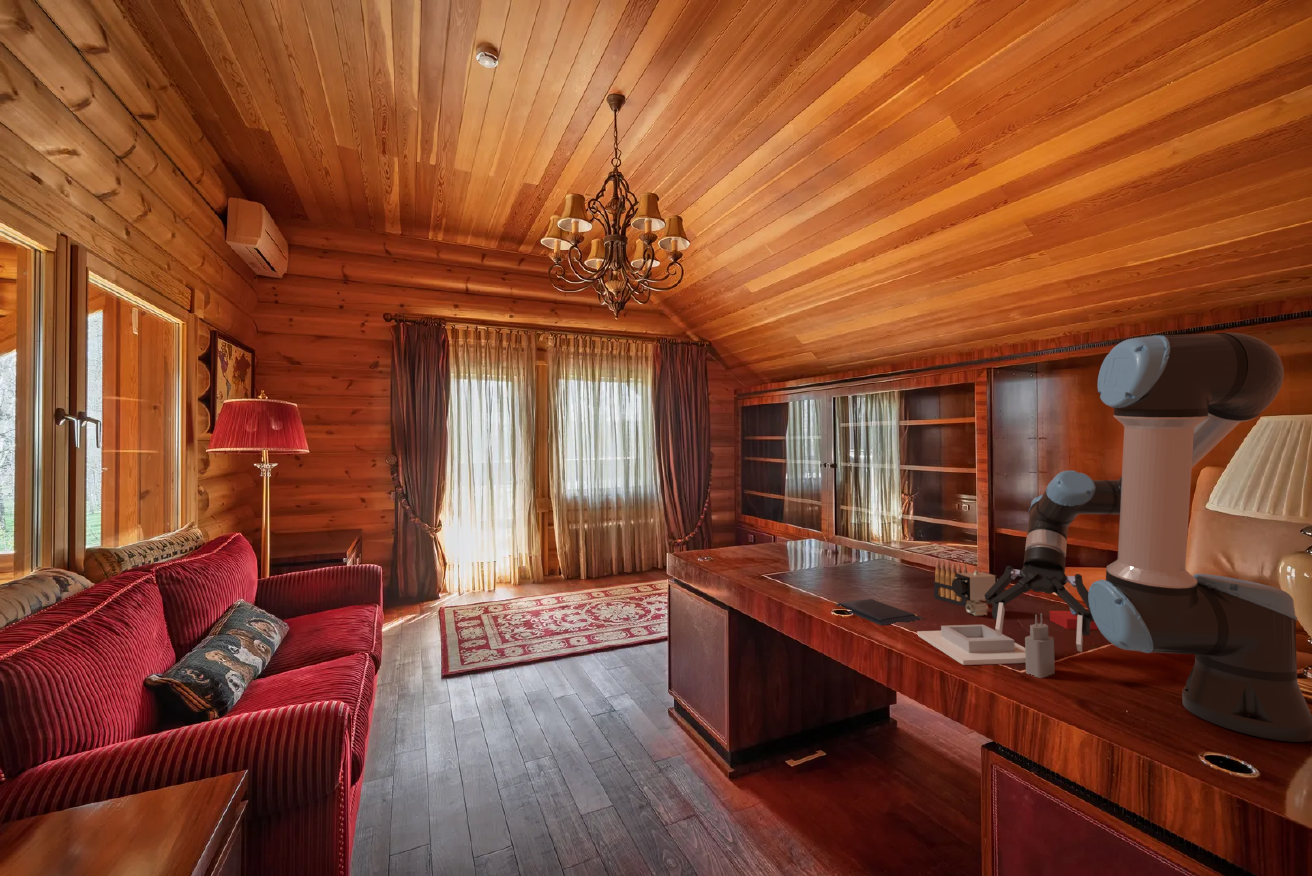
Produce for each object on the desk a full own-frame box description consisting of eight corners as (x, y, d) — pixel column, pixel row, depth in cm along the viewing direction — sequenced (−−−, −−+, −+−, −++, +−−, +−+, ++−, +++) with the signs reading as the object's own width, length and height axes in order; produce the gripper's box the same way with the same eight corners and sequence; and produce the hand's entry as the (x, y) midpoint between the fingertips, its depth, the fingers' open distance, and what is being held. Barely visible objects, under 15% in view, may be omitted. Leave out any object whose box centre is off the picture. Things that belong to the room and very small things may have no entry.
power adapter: (1056, 673, 109) (1054, 614, 109) (1040, 678, 107) (1039, 618, 107) (1039, 667, 112) (1038, 610, 112) (1024, 672, 109) (1022, 613, 110)
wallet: (831, 600, 157) (874, 595, 162) (831, 607, 157) (874, 602, 162) (880, 621, 138) (926, 615, 143) (880, 628, 138) (927, 622, 143)
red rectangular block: (1082, 622, 141) (1081, 597, 141) (1101, 630, 134) (1100, 605, 134) (1049, 621, 142) (1049, 597, 142) (1067, 630, 135) (1066, 604, 135)
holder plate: (1044, 662, 114) (1044, 645, 114) (963, 665, 113) (962, 648, 113) (988, 633, 132) (987, 619, 132) (917, 635, 131) (917, 621, 131)
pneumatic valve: (1002, 615, 146) (1001, 571, 146) (963, 618, 144) (962, 573, 144) (987, 609, 151) (986, 567, 152) (949, 612, 150) (948, 568, 150)
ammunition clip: (933, 598, 163) (932, 558, 163) (938, 597, 164) (937, 558, 164) (966, 607, 153) (965, 565, 154) (971, 606, 154) (970, 565, 154)
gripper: (1118, 572, 115) (1117, 664, 103) (984, 557, 132) (971, 635, 120) (1116, 551, 111) (1116, 645, 100) (979, 539, 128) (965, 617, 116)
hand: (1037, 640), depth 110 cm, fingers open, 13 cm apart
